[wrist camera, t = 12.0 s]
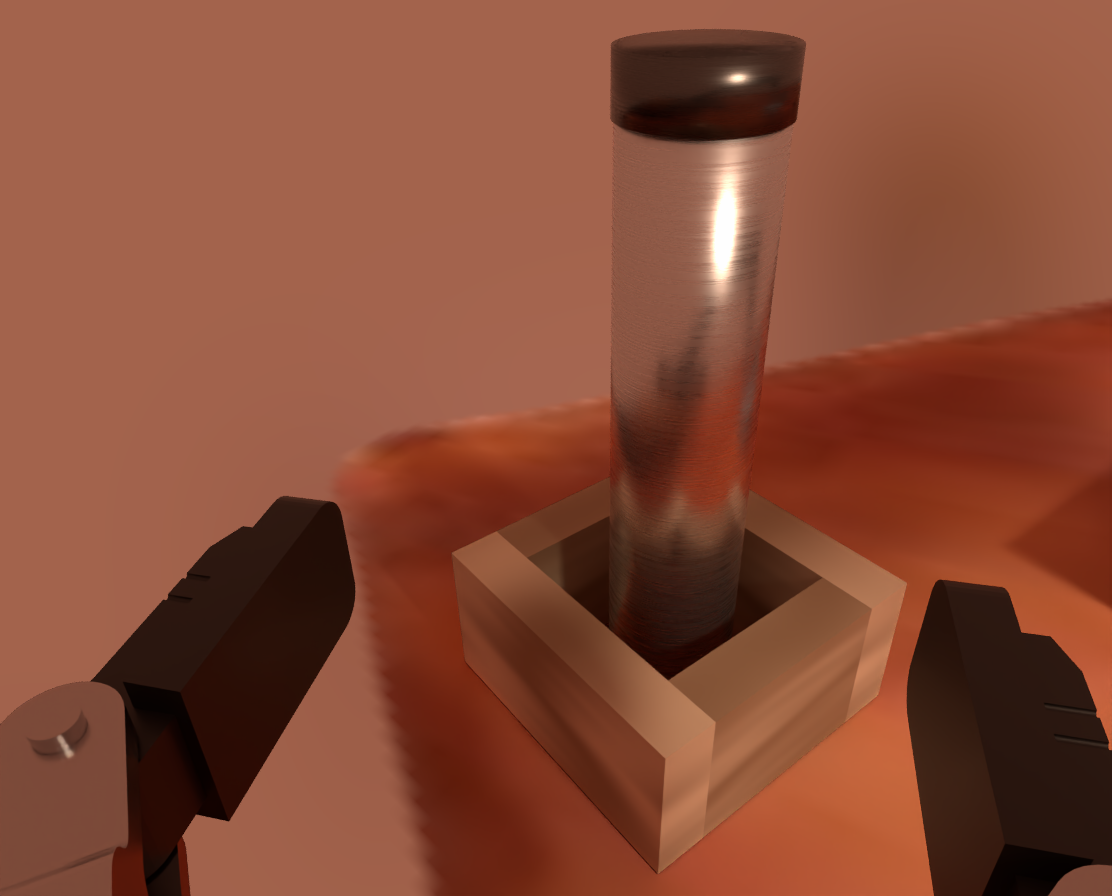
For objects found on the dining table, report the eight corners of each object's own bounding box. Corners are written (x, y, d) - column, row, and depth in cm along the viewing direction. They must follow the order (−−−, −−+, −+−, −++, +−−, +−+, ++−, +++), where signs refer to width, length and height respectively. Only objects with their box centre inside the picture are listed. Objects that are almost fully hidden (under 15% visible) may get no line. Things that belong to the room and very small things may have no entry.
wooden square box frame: (877, 695, 23) (907, 583, 21) (657, 874, 19) (665, 759, 17) (669, 546, 28) (675, 445, 26) (464, 660, 24) (451, 553, 22)
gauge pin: (752, 687, 23) (846, 41, 14) (664, 751, 22) (709, 66, 13) (668, 619, 25) (705, 24, 17) (582, 673, 24) (571, 44, 15)
